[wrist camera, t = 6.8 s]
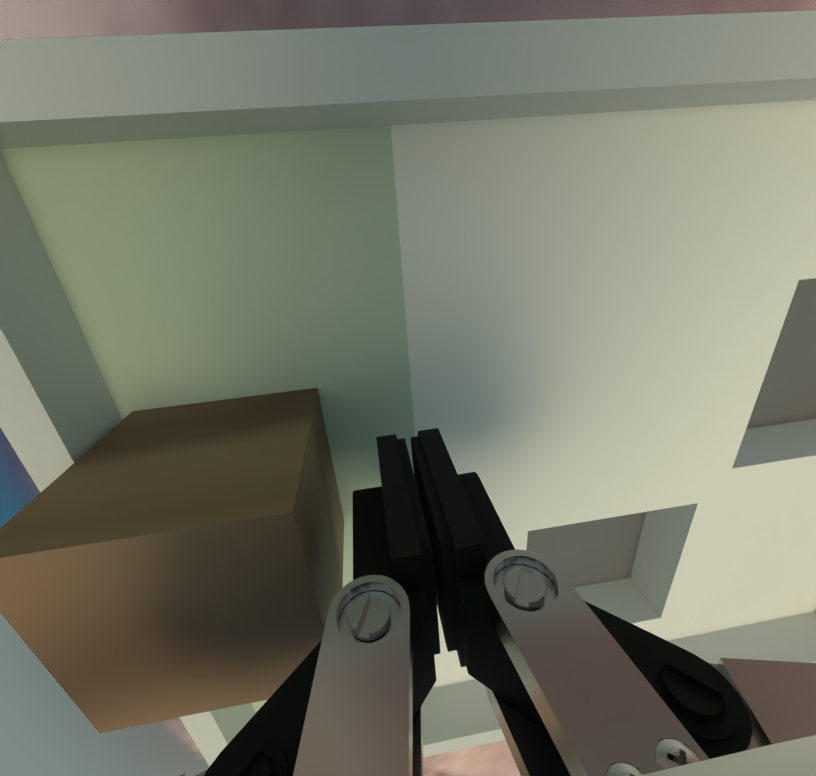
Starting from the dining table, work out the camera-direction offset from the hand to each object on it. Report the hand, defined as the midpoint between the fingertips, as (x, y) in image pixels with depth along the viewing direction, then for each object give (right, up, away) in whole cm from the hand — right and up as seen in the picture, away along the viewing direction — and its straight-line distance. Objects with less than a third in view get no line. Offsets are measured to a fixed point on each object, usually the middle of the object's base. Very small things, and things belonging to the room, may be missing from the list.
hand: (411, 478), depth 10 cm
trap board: (+6, 0, +6) cm, 8 cm away
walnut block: (-5, 0, +1) cm, 5 cm away
